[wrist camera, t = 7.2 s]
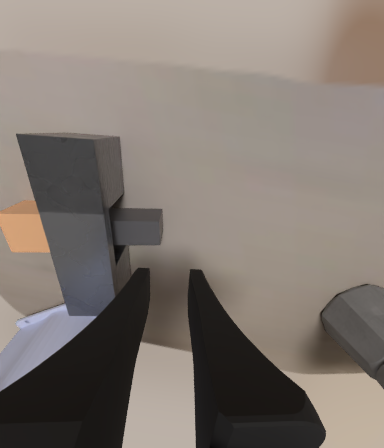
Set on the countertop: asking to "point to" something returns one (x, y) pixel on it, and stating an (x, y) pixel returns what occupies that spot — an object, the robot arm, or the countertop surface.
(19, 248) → the plug
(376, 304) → the coffeepot
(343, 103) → the countertop surface
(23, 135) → the grey bridge block
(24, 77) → the countertop surface
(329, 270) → the countertop surface
